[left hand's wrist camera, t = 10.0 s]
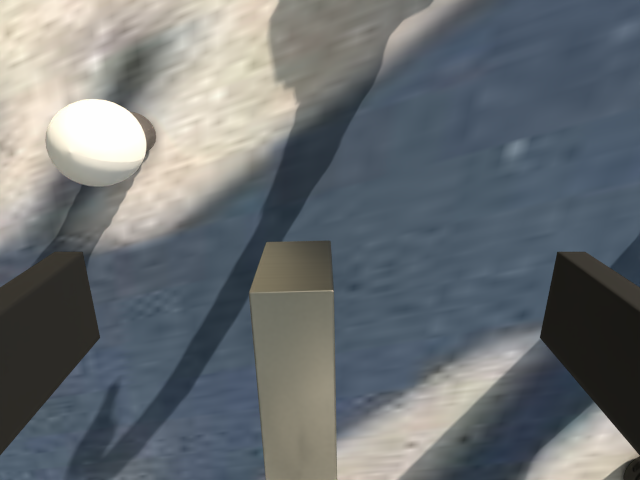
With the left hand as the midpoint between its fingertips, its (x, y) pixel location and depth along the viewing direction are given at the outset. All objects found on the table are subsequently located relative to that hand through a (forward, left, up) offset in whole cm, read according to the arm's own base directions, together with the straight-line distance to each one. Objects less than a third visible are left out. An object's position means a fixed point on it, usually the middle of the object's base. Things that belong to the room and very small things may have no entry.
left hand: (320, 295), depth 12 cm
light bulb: (+17, -5, -31) cm, 36 cm away
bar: (+5, +16, -17) cm, 24 cm away
